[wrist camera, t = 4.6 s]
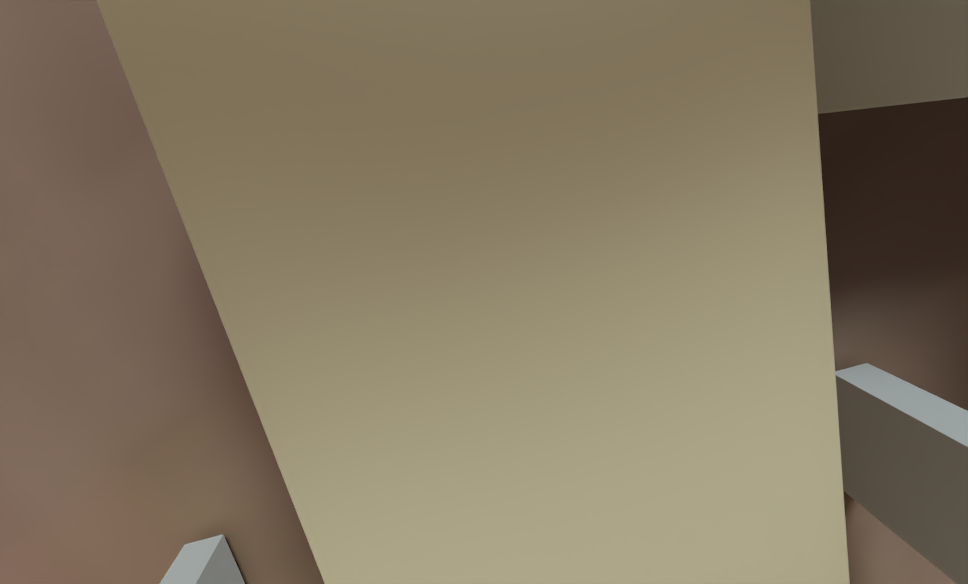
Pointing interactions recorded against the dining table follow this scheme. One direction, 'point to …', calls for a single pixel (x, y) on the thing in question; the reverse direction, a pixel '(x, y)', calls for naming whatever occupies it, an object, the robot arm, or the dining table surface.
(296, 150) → the rail
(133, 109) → the dining table surface
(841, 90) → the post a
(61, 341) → the dining table surface
